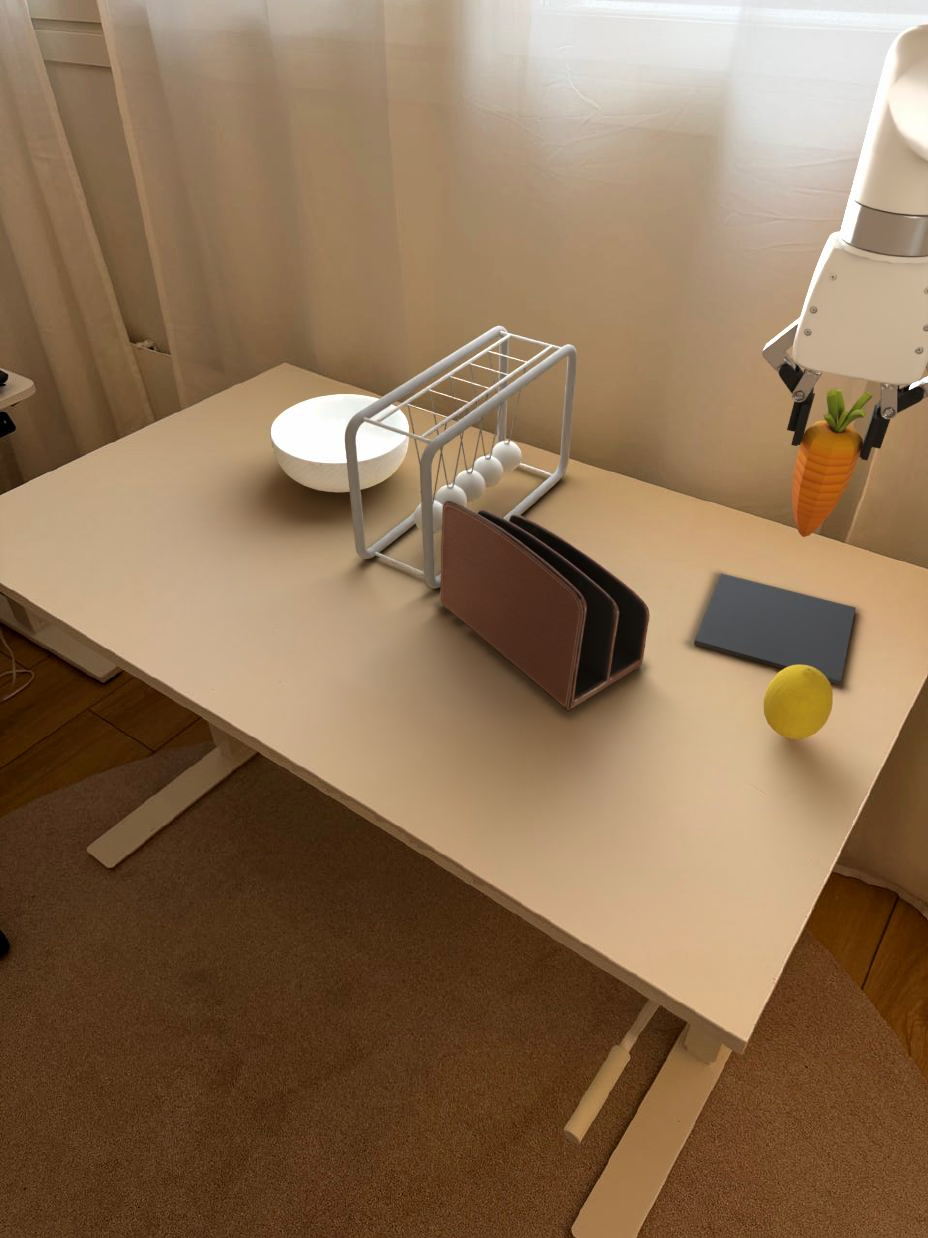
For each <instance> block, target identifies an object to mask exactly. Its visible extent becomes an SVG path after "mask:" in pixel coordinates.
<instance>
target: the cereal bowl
mask: <svg viewBox="0 0 928 1238" xmlns="http://www.w3.org/2000/svg"><path fill="white" fill-rule="evenodd" d="M379 399H380V398H377V397H372V396H368V395H361V394H348V393H347V394H346V393H345V394H344V393H343V394H331V395H324V396H317V397H313V398H310V399H307V400H304V401H301V402H299V403H296V404H294V405H292V406H291V407H289V408H287V409H286V410H284V411H283V412H281V413H280V414H279V415H278V416H277V417H276V418H275V419H274V421H273V422H272V424H271V426H270V442H271V447H272V450H273V454H274V457H275V459H276V461H277V463H278V465H279V467H280V469H282V471H283V472H285V474H286V475H288V476H289V478H290V479H293V480H294V481H295V482H296V483H298V484H300V485H302V486H304V487H308V488H309V489H313V490H315V491H322V492H326V493H327V492H328V493H348V492H349V493H350V489H349V480H348V470H347V460H346V450H345V431H346V428H347V425H348V423H349V421H350V420H351V418H352V417H353V416H354V415H355V414H356V413H358V412H359V411H361V410H363V409H364V408H366V407H367V406H369V405H371V404H372V403H374V402H375V401H377V400H379ZM395 407H396V406H395V405H393V404H392V405H390V406H389V407H387V408H385V409H384V410H382V411H381V412H379V413H378V414H376V415H374V416H373V417H371V418H370V419H371V420H374V421H375V420H377V419H378V418H380V417H381V416H383V415H384V414H386V413H387V412H389V411H391V410H392V409H394V408H395ZM380 423H383V424H385V425H388V426H391V427H394V428H397V429H400V430H403V431H406V432H409V433H410V427H409V422H408V419H407V417H406V415H405V414H404V413H403V412H402V411H401V409H399V410H398V411H396V412H395V413H393V414H392V415H390V416H389V417H387V418H386V419H384V420H383V421H381V422H380ZM409 444H410V437H408V436H405V435H402V434H399V433H396V432H393V431H390V430H388V429H385V428H382V427H379V426H376V425H373V424H370V423H367V422H364V423H362V424H361V425H360V427H359V428H358V431H357V434H356V448H357V459H358V469H359V480H360V491H362V490H365V489H369V488H371V487H374V486H376V485H379V484H380V483H382V482H384V481H385V480H387V479H389V478H390V477H391V476H392V475H394V473H395V472H397V470H398V469H399V468H400V466H401V465H402V464H403V462H404V460H405V458H406V455H407V451H408V449H409Z"/></svg>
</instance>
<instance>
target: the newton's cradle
mask: <svg viewBox="0 0 928 1238" xmlns="http://www.w3.org/2000/svg"><path fill="white" fill-rule="evenodd" d="M497 338H498V339H499V340H498V341H496V342H495V343H493V344H491V345H489V346H488V347H487V348H485V349H484V350H482V351H480V352H479V353H477V354H476V355H475V356H473V357H471V358H469V359H468V360H467V361H465V362H463V363H462V364H461V365H459V366H457V367H455V368H454V369H453V370H451V371H449V372H448V373H446V374H445V375H443V376H442V377H440V378H438V379H437V380H436V381H434V382H432V383H431V384H429V385H427V386H426V387H424V388H423V389H422V390H420V391H418V392H417V393H415V394H414V395H412V396H411V397H409V398H407V399H406V400H404V401H403V402H401V403H400V404H398V405H396V406H395V408H394V409H392V410H391V411H389V412H387V413H386V414H384V415H383V416H381V417H380V418H378V419H377V420H375V421H374V420H371V419H370V418H371V417H373V416H374V415H376V414H378V413H379V412H381V411H382V410H384V409H385V408H387V407H389V406H390V405H393V404H395V403H396V402H399V400H401V399H403V398H405V397H406V396H407V395H409V394H410V393H412V392H414V391H415V390H417V389H419V388H420V387H422V386H423V385H424V384H426V383H428V382H429V381H431V380H432V379H434V378H435V377H438V376H439V375H440V374H442V373H444V372H445V371H447V370H448V369H450V368H452V367H453V366H455V365H456V364H457V363H460V361H462V360H464V359H465V358H467V357H468V356H470V355H471V354H473V353H475V352H477V351H478V350H479V349H481V348H482V347H485V346H486V345H487V344H488V343H490V342H492V341H494V340H495V339H497ZM511 338H512V339H516V340H519V341H523V342H526V343H530V344H534V345H538V346H540V347H544V349H543V350H542V351H540V352H539V353H538V354H536V355H535V356H533V357H532V358H530V359H529V360H527V361H526V360H522V359H518V358H515V357H511V356H509V353H510V352H509V349H510V339H511ZM498 346H499V350H498V352H494V351H492V350H493V349H495V348H496V347H498ZM551 350H556V351H554V352H553V353H552V354H550V355H549V356H548V357H546V358H545V359H543V360H542V361H540V362H539V363H537V364H536V365H535V366H534V367H532V368H530V369H529V370H528V371H526V368H527V367H528V366H530V365H531V364H533V363H534V362H535V361H537V360H538V359H539V358H541V357H543V356H544V355H545V354H547V353H548V352H550V351H551ZM487 353H488V357H489V363H490V368H488V367H484V366H481V365H477V364H474V363H473V362H475V361H476V360H478V359H479V358H481V357H482V356H484V355H485V354H487ZM491 354H495V355H498V370H495V369H494V368H493V361H492V355H491ZM566 357H567V362H566V363H567V364H566V373H565V374H566V377H565V386H564V387H565V390H564V401H563V412H562V413H563V414H562V427H561V439H560V440H561V441H560V452H559V453H560V454H559V461H558V465H557V467H556V470H555V471H554V472H553V473H551V472H548V471H546V470H542V469H539V468H536V467H534V466H531V465H528V464H526V463H525V464H524V463H521V462H522V457H523V456H522V450H521V448H520V447H519V446H518V445H517V443H515V442H513V441H511V440H512V439H511V438H512V434H513V429H514V425H515V421H516V417H517V411H518V406H519V401H520V397H521V392H522V389H524V388H525V387H526V386H528V385H529V384H531V383H532V382H534V381H535V380H536V379H538V378H539V377H541V376H542V375H543V374H544V373H546V372H547V371H549V370H550V369H551V368H553V367H554V366H555V365H557V364H558V363H559V362H561V361H562V360H564V359H565V358H566ZM509 359H512V360H516V361H520V362H523V363H524V364H522V365H521V366H519V367H518V368H516V369H514V370H513V371H511V372H510V373H509ZM467 366H469V368H470V375H471V381H467V380H465V379H461V378H458V377H454V376H453V375H455V374H456V373H458V372H459V371H461V370H463V369H465V368H466V367H467ZM472 366H475V367H478V368H481V369H484V370H489V371H491V376H492V380H493V385H492V386H490V387H488V386H485V385H481V384H477V383H475V379H474V373H473V367H472ZM577 366H578V351H577V349H576V347H575V346H574V345H572V344H569V343H568V344H564V345H563V346H558V345H554V344H550V343H547V342H543V341H539V340H537V339H536V340H535V339H532V338H528V337H526V336H525V337H524V336H521V335H516V334H514V333H510V332H508V330H507V329H506V327H504V326H501V325H497V326H494V327H493V328H491V329H489V330H488V331H486V332H484V333H483V334H481V335H479V336H478V337H476V338H475V339H473V340H472V341H470V342H468V343H467V344H465V345H463V346H462V347H460V348H458V349H457V350H455V351H454V352H453V353H450V354H449V355H448V356H446V357H444V358H443V359H441V360H439V361H438V362H436V363H435V364H433V365H431V366H429V367H428V368H427V369H425V370H424V371H422V372H420V373H419V374H417V375H415V376H414V377H413V378H411V379H409V380H407V381H406V382H404V383H403V384H401V385H399V386H398V387H396V388H395V389H393V390H392V391H390V392H388V393H387V394H385V395H383V396H382V397H380V398H378V399H379V400H377V401H375V402H374V403H372V404H371V405H369V406H367V407H366V408H364V409H363V410H361V411H359V412H358V413H356V414H355V415H354V416H353V417H352V418H351V420H350V421H349V423H348V425H347V428H346V431H345V450H346V460H347V470H348V480H349V489H350V492H349V497H350V507H351V508H350V509H351V518H352V519H351V520H352V528H353V537H354V547H355V551H356V554H357V555H358V556H359V557H360V558H361V559H364V560H370V559H372V558H374V557H375V556H376V557H379V558H381V559H383V560H385V561H387V562H390V563H392V564H395V565H397V566H399V567H402V568H404V569H406V570H409V571H410V572H413V573H416V574H418V575H421V576H423V579H424V583H425V584H426V586H427V587H428V588H430V589H439V588H441V572H440V573H439V574H437V576H436V570H435V568H436V567H435V539H434V538H435V537H434V535H435V534H437V533H439V532H442V511H443V505H444V503H445V502H446V501H453V502H456V503H458V504H460V505H462V506H464V507H466V508H467V505H468V503H474V502H477V501H478V500H480V499H481V498H482V497H483V495H484V493H485V492H486V488H492V487H495V486H497V485H498V484H499V483H500V482H501V480H502V478H503V475H504V473H508V472H510V473H511V472H512V471H515V470H516V469H517V468H518V467H522V468H524V469H527V470H530V471H533V472H536V473H539V474H542V475H545V476H548V478H547V479H546V480H544V481H543V482H542V483H541V484H540V485H538V487H536V489H535V490H533V491H532V492H531V493H530V494H528V495H527V496H526V497H525V498H524V499H523V500H522V501H520V503H518V504H517V505H516V506H515V507H514V508H513V509H511V511H509V512H508V513H507V514H506V515H505V516H504V517H503V518H504V519H506V520H507V521H509V519H510V516H511V515H514V514H516V515H520V516H522V514H524V513H525V512H526V511H527V510H528V509H529V508H530V507H532V506H533V505H534V504H535V503H536V502H538V500H539V499H540V498H541V497H543V496H544V495H545V494H546V493H548V492H549V490H550V489H552V488H553V487H554V486H556V484H557V483H558V482H560V481H561V479H562V478H563V477H564V475H565V473H566V471H567V469H568V467H569V466H568V465H569V461H570V453H571V451H570V450H571V441H572V440H571V438H572V428H573V415H574V405H575V404H574V403H575V393H576V392H575V391H576V381H577V370H578V369H577ZM522 370H523V372H522V373H523V374H522V375H521V376H519V377H518V378H517V379H515V380H514V381H512V382H511V383H510V384H509V380H510V379H512V378H513V377H514V376H515V375H517V374H518V373H520V372H521V371H522ZM494 373H498V382H496V381H495V374H494ZM447 379H450V380H449V381H450V385H451V386H450V387H451V391H452V396H451V395H448V394H444V393H441V392H438V391H436V390H432V389H433V388H435V387H436V386H438V385H439V384H441V383H442V382H444V381H445V380H447ZM453 379H455V380H458V381H462V382H465V383H468V384H471V385H472V386H473V387H472V388H473V393H474V398H473V399H472V400H470V401H466V400H465V399H461V398H457V397H455V389H454V383H453ZM476 386H478V387H482V388H485V389H486V390H485V391H483V392H482V393H480V394H479V395H477V391H476ZM497 388H498V390H497ZM493 391H494V392H495V394H494V395H493V396H491V397H490V398H488V397H489V394H490V393H491V392H493ZM427 392H429V397H430V403H431V408H432V411H430V410H427V409H425V408H421V407H418V406H416V405H412V404H410V403H412V402H413V401H415V400H417V399H418V398H419V397H421V396H423V395H424V394H425V393H427ZM432 393H435V394H439V395H442V396H445V397H448V398H452V399H453V403H454V410H455V411H454V412H453V413H452V414H450V415H449V416H446V415H443V414H440V413H436V412H435V406H434V401H433V395H432ZM517 393H518V396H517V401H516V406H515V410H514V414H513V420H512V423H511V429H510V433H509V439H508V440H506V439H507V416H508V413H507V412H508V400H509V399H510V398H512V397H513V396H514V395H516V394H517ZM485 396H486V397H485ZM484 397H485V401H484V402H483V403H482V404H480V405H478V401H480V400H482V399H483V398H484ZM456 400H458V401H461V402H464V403H466V404H464V405H463V406H462V407H460V408H459V409H458V408H457V401H456ZM474 404H475V406H476V408H474V409H473V410H471V411H470V412H469V413H468V411H469V408H470V407H471V406H473V405H474ZM404 407H407V410H408V414H409V420H410V424H411V430H412V433H411V432H410V431H409V432H406V431H403V430H400V429H397V428H394V427H391V426H388V425H385V424H383V423H380V422H381V421H383V420H384V419H386V418H387V417H389V416H390V415H392V414H393V413H395V412H396V411H398V410H401V409H402V408H404ZM410 407H412V408H416V409H419V410H422V411H425V412H428V413H431V414H433V417H434V418H433V419H434V424H435V426H433V427H432V428H430V429H428V430H427V431H426V432H424V433H423V434H421V435H417V434H416V433H415V428H414V424H413V419H412V413H411V409H410ZM496 408H497V420H496V425H495V430H494V434H493V438H492V439H493V440H492V445H491V449H490V453H488V454H486V450H485V443H484V437H483V431H482V430H483V429H482V428H483V423H484V418H485V417H486V416H487V415H488V414H489V413H491V412H493V411H494V410H496ZM464 411H465V415H464V416H463V417H462V418H459V415H460V414H461V413H463V412H464ZM436 415H437V416H440V417H442V418H445V419H443V420H441V421H440V422H439V423H437V417H436ZM454 418H456V420H457V421H456V422H455V423H453V424H452V425H450V427H448V423H449V422H450V421H451V420H453V419H454ZM364 422H367V423H370V424H373V425H376V426H379V427H382V428H385V429H388V430H390V431H393V432H396V433H399V434H402V435H405V436H408V437H409V438H411V439H414V445H415V450H416V455H417V459H418V464H419V482H420V503H419V505H417V507H415V509H414V512H413V513H412V514H409V516H407V517H406V518H405V519H404V520H403V521H401V522H400V523H399V524H397V525H396V526H395V527H394V528H392V529H391V530H390V531H388V532H387V533H386V534H384V535H383V536H382V537H381V538H379V539H378V540H377V541H376V542H374V543H373V544H371V546H370V547H368V548H367V547H366V546H367V545H366V537H365V536H366V535H365V525H364V516H363V515H364V514H363V503H362V502H363V501H362V490H360V480H359V469H358V459H357V448H356V434H357V431H358V428H359V427H360V425H361V424H362V423H364ZM477 422H478V424H479V432H478V437H477V442H476V446H475V451H474V456H473V462H472V467H470V468H469V469H468V465H467V460H466V454H465V447H464V442H463V438H464V433H465V431H467V430H468V429H469V428H471V427H472V426H474V425H475V424H476V423H477ZM443 426H444V430H443V431H442V432H441V433H439V429H440V428H442V427H443ZM447 427H448V428H447ZM434 432H436V436H435V437H433V438H432V439H429V438H427V437H429V436H430V435H432V434H433V433H434ZM458 436H459V437H460V442H459V448H458V453H457V459H456V465H455V470H454V475H453V481H452V482H451V483H450V484H449V482H448V476H447V470H446V466H445V465H446V464H445V459H444V455H443V449H444V446H446V445H447V444H449V443H450V442H451V441H453V440H454V439H455V438H457V437H458ZM496 436H497V437H496ZM480 438H481V444H482V445H481V446H482V450H483V456H480V457H478V458H477V453H478V448H479V443H480ZM495 440H496V441H495ZM417 441H419V442H423V443H426V444H427V445H426V446H425V448H423V452H422V454H421V457H420V453H419V448H418V443H417ZM495 442H496V443H495ZM461 450H462V455H463V461H464V467H465V469H464V470H463V471H461V472H458V474H457V471H458V465H459V460H460V455H461ZM438 451H440V454H439V460H438V466H437V470H436V478H435V484H434V491H433V475H432V474H433V471H432V468H433V466H432V465H433V462H434V458H435V457H436V454H437V452H438ZM476 458H477V459H476ZM441 461H442V467H443V471H444V477H445V482H446V485H443V486H441V487H440V488H439V489H438V490H437V485H438V480H439V473H440V468H441ZM413 526H416V528H418V530H420V531H421V532H422V534H421V535H422V555H423V556H422V557H423V558H422V559H423V571H422V570H420V569H418V568H416V567H413V566H411V565H408V564H406V563H403V562H402V561H399V560H397V559H394V558H392V557H389V556H387V555H384V554H383V553H381V552H382V551H383V550H385V549H386V548H387V547H388V546H390V544H392V543H393V542H394V541H396V540H397V539H398V538H400V536H402V535H403V534H404V533H406V532H407V531H408V530H410V529H411V528H412V527H413Z"/></svg>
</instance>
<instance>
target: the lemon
mask: <svg viewBox="0 0 928 1238" xmlns="http://www.w3.org/2000/svg"><path fill="white" fill-rule="evenodd" d="M833 696H834V695H833V688H832V685H831V682H829V681H828V679H827V678H826V676H825V675H824V674H823V673H822V672H820V671H819V670H817V669H816V668H814V667H811V666H808V665H792V666H789V667H786V668H784V669H781V670H780V671H778V673H776V675H775V676H774V677H772V679H771V681H770V682H769V684H768V686H767V688H766V691H765V693H764V697H763V704H762V706H763V714H764V717H765V720H766V722H767V724H768V725H769V727H770V728H771V729H772V730H773V731H774V732H776V733H777V734H778V735H780V736H781V737H785V738H787V739H791V740H802V739H807V738H809V737H812V736H813V735H815V734H817V733H819V732H820V730H821V729H822V728H823V727H824V726H825V725H826V723H827V722H828V720H829V717H830V716H831V712H832V710H833V704H834V703H833V702H834V701H833V700H834V699H833V698H834V697H833Z"/></svg>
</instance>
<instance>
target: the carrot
mask: <svg viewBox="0 0 928 1238" xmlns="http://www.w3.org/2000/svg"><path fill="white" fill-rule="evenodd" d="M826 391H827V392H826V404H827V412H828V413H824V414H823V419H824V420H818V421H816V422H814V423H813V424H811V425H810V426H809V427H808V428H807V429H805V432H804V434H803V437H802V441H801V444H800V445H799V448H798V452H797V456H796V461H795V466H794V471H793V476H792V489H791V507H792V514H793V519H794V522H795V526H796V529H797V533H798V534H799V535H800V536H801V537H803V538H805V537H810V535H812V534H813V533H814V532H815V531H817V529H818V528H819V527H820V526H821V525H822V524H823V523H824V522H825V521H826V520H827V519H828V517H829V516H830V515H831V514H832V513H833V511H834V509H835V508H836V506H837V504H838V503H839V502H840V500H841V498H842V496H843V494H844V492H845V490H846V488H847V487H848V485H849V483H850V480H851V478H852V476H853V473H854V470H855V467H856V465H857V464H858V463H857V462H858V460H859V458H860V457H859V456H860V452H861V448H862V445H863V440H864V438H863V437H862V436H861V435H860V433H859V432H858V431H857V430H856V428H855V427H854V425H851V424H852V423H853V422H854V421H855V420H857V419H859V418H861V419H862V418H863V419H864V418H865V417H866V414H867V412H866V411H865V410H864V409H863V408H864V406H865V405H866V404H867V403H868V402H869V401H870V400H871V399H872V398H873V397H874V396H873V394H872V393H870V392H867V391H865V393H863V394H862V395H861V396H860V397H859V398H858V399H857V400H856V401H855V403H854V404H853V405H852V407H851V408H850V409H849V411H847V410H846V409H845V406H846V405H845V400H844V399H845V398H844V395H843V392H842V389H837V388H830V389H828V390H826Z"/></svg>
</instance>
